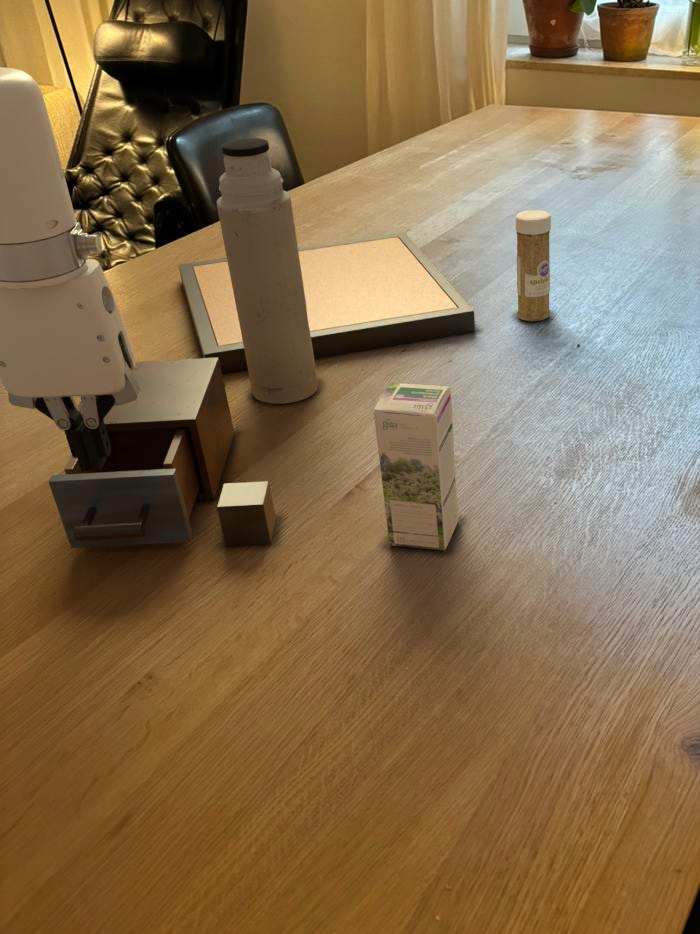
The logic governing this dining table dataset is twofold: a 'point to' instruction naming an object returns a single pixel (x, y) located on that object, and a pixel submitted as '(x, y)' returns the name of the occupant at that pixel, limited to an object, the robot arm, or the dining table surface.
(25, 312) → the robot arm
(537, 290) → the sprinkles bottle
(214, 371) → the cabinet
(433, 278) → the cork board
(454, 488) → the syrup box
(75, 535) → the drawer
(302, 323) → the thermos bottle
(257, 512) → the block
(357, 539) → the dining table surface
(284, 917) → the dining table surface
